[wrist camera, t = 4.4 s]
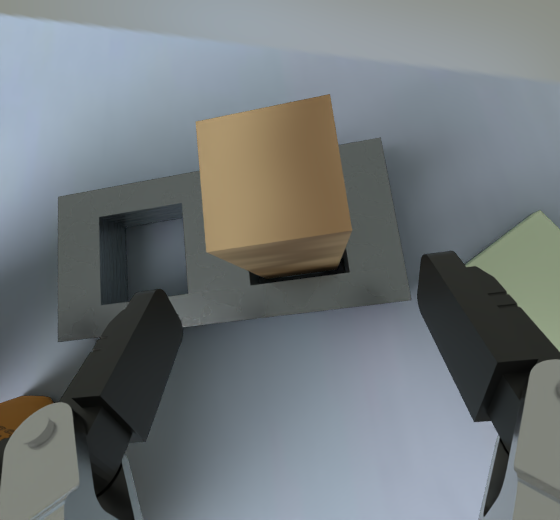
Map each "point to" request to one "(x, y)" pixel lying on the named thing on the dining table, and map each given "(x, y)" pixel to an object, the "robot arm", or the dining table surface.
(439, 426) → the dining table surface
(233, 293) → the block with square holes
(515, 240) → the mat
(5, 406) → the coffee package
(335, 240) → the peg
